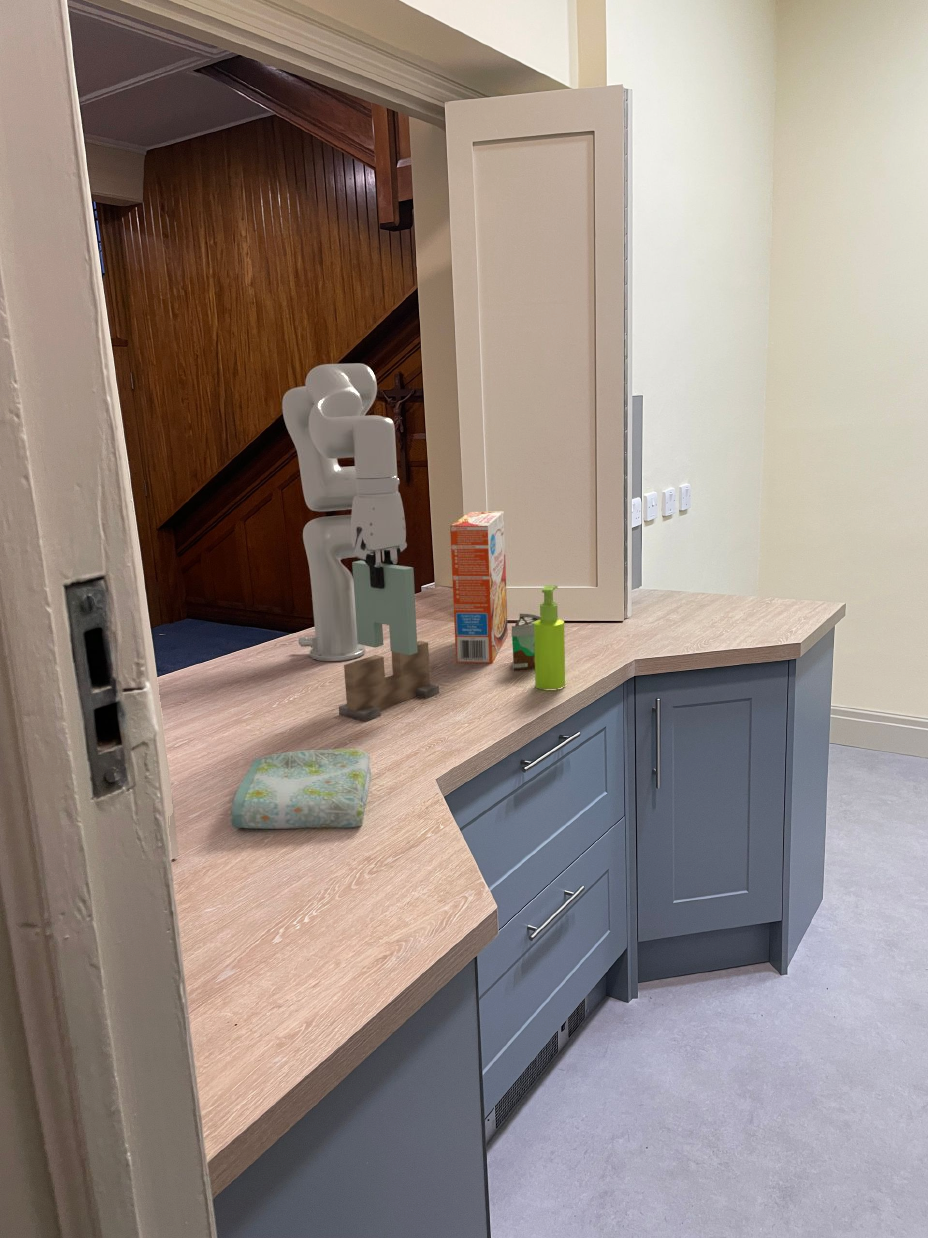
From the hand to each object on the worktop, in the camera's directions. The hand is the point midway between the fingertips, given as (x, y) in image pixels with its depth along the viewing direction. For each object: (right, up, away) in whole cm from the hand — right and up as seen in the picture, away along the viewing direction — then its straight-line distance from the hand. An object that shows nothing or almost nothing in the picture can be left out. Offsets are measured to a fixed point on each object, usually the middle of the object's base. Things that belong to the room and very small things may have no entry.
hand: (383, 585), depth 175 cm
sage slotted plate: (0, -12, +3) cm, 12 cm away
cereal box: (+19, -13, +41) cm, 47 cm away
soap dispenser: (+32, -20, +13) cm, 40 cm away
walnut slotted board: (+1, -22, +5) cm, 23 cm away
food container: (+29, -16, +27) cm, 43 cm away
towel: (-8, -34, -36) cm, 50 cm away
